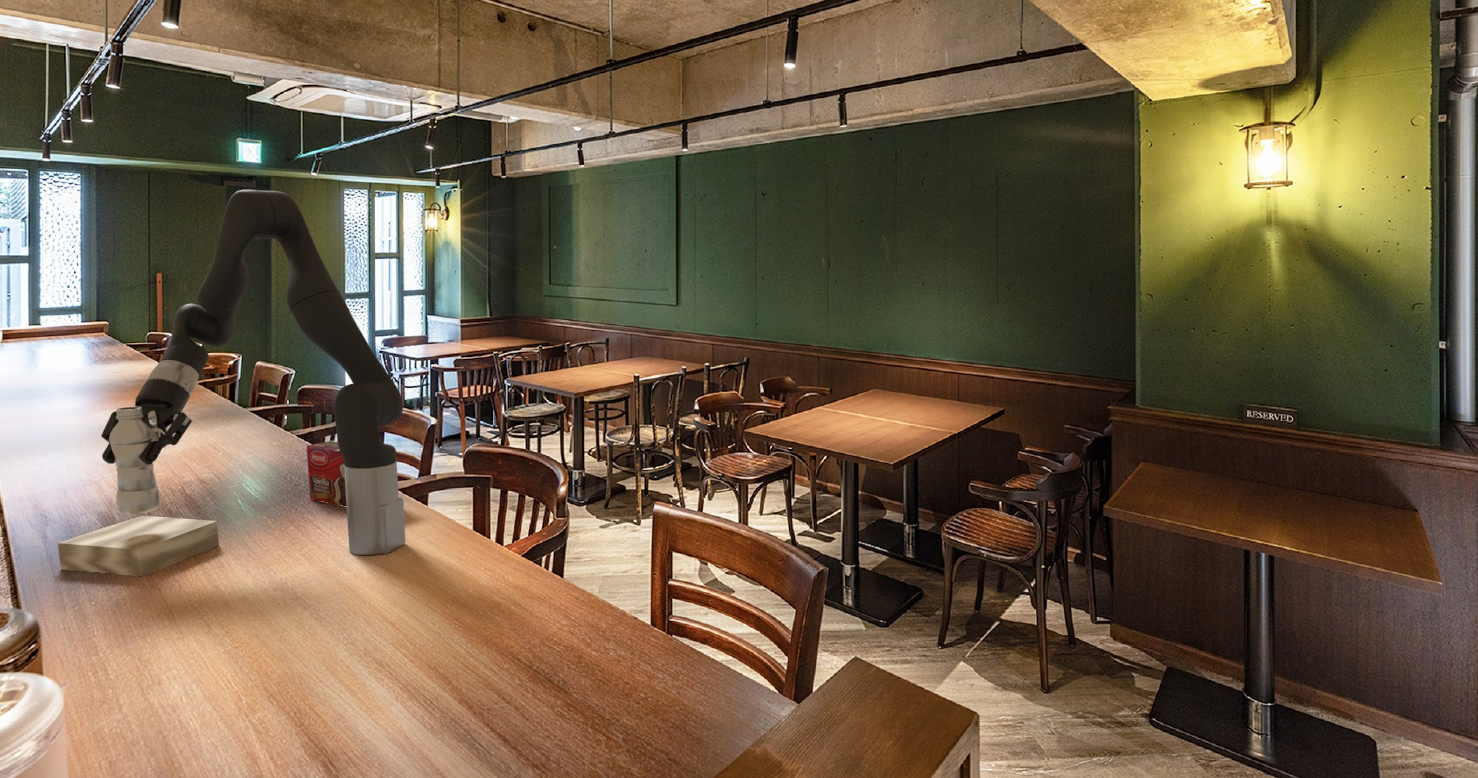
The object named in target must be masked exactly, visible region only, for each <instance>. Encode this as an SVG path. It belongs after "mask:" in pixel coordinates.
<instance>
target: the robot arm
mask: <svg viewBox="0 0 1478 778" xmlns="http://www.w3.org/2000/svg"><path fill="white" fill-rule="evenodd" d="M307 225H308V224H307V222H306V220H305V219H304V216H303V213H302V212H301V209H300V208H299V205H298V204H297V202H296V201H295V200H294V198H293V197H292V196H290V195H289V194H287V193H286V192H282V191H277V190H263V189H241V190H237V191H236V192H234V193H233V194H232V195H231V197H230V198H229V200H228V202H227V204H226V207H225V210H224V214H223V218H222V222H221V226H220V230H219V233H218V238H217V243H216V247H215V252H214V257H213V260H212V263H211V265H210V268H209V270H208V273H207V274H206V276H205V279H204V281H203V282H202V284H201V286H200V288H199V290H198V293H197V295H196V301H197V302H198V304H196V303H187V304H184V305H181V306H180V307H179V308H178V309H177V311H176V312H175V315H174V316H173V323H172V331H171V338H170V340H169V343H168V346H167V347H166V349H165V352H164V353H163V355H162V357H161V358H160V360H159V362H158V364H157V365H156V366H155V367H154V368H153V369H152V371H151V372H150V374H149V376H148V377H147V379H146V381H145V382H144V384H143V385H142V387H141V389H140V391H139V392H138V394H137V395H136V397H135V402H134V407H142V414H143V417H142V418H141V419H142V421H143V422H144V423H145V424H147V425H148V426H149V427H150V429H151V431H152V433H153V436H152V441H153V442H149V444H148V446H147V447H146V449H145V451H144V453H143V455H142V456H141V460H142V461H143V462H144V463H145V464H152V463H153V464H154V462H155V461H156V460H157V459H158V457H159V455H160V454H161V452H162V450H163V449H164V448H166V447H167V446H169V445H170V446H176V445H177V444H178V443H179V442H180V441H181V439H182V437H183V436H184V434H185V433H186V432H187V430H188V428H189V427H190V425H191V424H192V422H193V420H192V419H191V418H190V417H189V416H188V415H187V414H186V413H185V412H184V411H183V410H184V408H186V407H185V406H186V405H187V404H188V401H189V399H190V397H191V396H192V394H193V392H194V391H195V388H196V386H197V383H198V381H199V378H200V376H201V374H202V373H203V370H204V369H205V367H206V365H207V363H208V360H209V358H210V355H209V353H208V351H207V350H206V348H204V347H203V346H202V345H200V344H198V343H197V342H199V343H201V344H204V345H206V346H209V347H211V348H222V347H224V346H227V345H228V344H229V343H230V342H232V339H233V336H234V334H235V328H236V313H237V310H238V307H239V304H240V302H241V301H242V299H243V297H244V295H245V293H246V291H247V290H248V289H247V288H248V287H249V282H250V274H249V273H250V272H249V269H248V266H247V262H246V260H245V252H246V249H248V247H249V245H250V244H251V242H253V240H276V241H277V242H278V243H279V244H280V245H281V248H282V250H283V252H284V254H285V256H286V258H287V260H288V266H289V273H288V280H287V286H286V302H287V306H288V308H289V309H290V312H291V314H292V315H293V317H294V319H295V321H296V323H297V324H298V326H299V328H300V330H301V331H302V333H303V334H304V336H306V338H307V339H309V340H310V341H311V343H312V344H314V345H315V346H316V347H318V348H319V349H320V350H321V351H322V352H325V354H327V355H328V356H329V357H330V358H331V359H333V360H334V361H335V362H337V364H339V365H340V366H341V368H342V369H343V370H344V371H345V373H346V374H347V375H348V377H349V379H350V381H351V382H352V383H350V384H347V385H344V386H343V387H340V389H339V390H338V391H337V393H336V396H335V399H334V405H333V406H334V407H333V408H334V409H333V411H334V412H333V413H334V422H335V423H334V424H335V431H336V437H337V438H336V440H337V442H338V446H339V450H340V452H341V454H342V456H343V459H344V470H345V488H346V504H347V507H346V517H347V518H346V519H347V533H348V535H347V536H348V548H349V552H350V553H351V554H354V555H361V556H364V555H365V556H371V555H373V556H374V555H379V554H380V555H382V554H384V555H385V554H389V553H390V552H393V551H394V550H396V549H397V548H399V547H401V546H403V545H405V544H406V533H405V532H406V528H405V527H406V526H405V507H404V506H405V505H404V504H405V503H404V498H403V497H399V485H398V484H399V482H398V463H397V462H398V461H397V458H398V457H397V450H396V447H394V446H393V445H392V444H388V443H383V441H381V438H380V437H381V436H380V429H379V428H380V427H383V426H387V425H391V424H393V423H395V422H397V421H398V420H399V419H400V417H401V416H402V413H403V410H404V403H403V397H402V395H401V393H400V390H399V389H398V387H397V385H396V383H395V382H394V381H393V379H392V377H391V376H390V375H389V374H388V372H387V370H386V369H385V368H384V366H383V364H381V362H380V361H379V359H378V357H377V356H376V354H375V353H374V351H373V350H372V348H371V346H370V345H369V343H368V342H367V340H366V338H365V336H364V334H363V333H362V331H361V329H360V328H359V326H358V324H357V323H356V321H355V319H354V317H353V315H352V313H351V310H350V309H349V307H348V305H347V303H346V301H345V299H344V298H343V295H342V293H341V292H340V291H339V289H338V287H337V286H336V284H335V282H334V281H333V279H332V277H331V275H330V273H329V271H328V269H327V267H326V265H325V263H324V261H323V260H322V257H321V255H320V253H319V252H318V249H317V247H316V245H315V242H314V239H313V237H312V235H311V233H310V231H309V228H308V226H307ZM195 341H196V342H195ZM116 416H117V411H116V410H114V411H113V412H111V414H110V416H109V419H107V423H106V425H105V427H104V429H103V431H102V433H101V434H100V435H101V438H102V439H104V440H105V441H106V442H107V446H106V447H105V450H104V451H103V452H102V455H101V457H102V460H103V461H104V462H105V463H107V464H108V465H109V464H110V465H111V464H116V463H115V458H114V454H113V451H112V448H111V444H110V440H109V437H110V433H111V431H112V430H113V428H114V427H115V426H116V425H117V423H118V422H119V420H118V419H116ZM168 427H169V428H168Z"/></svg>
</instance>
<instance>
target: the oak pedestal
mask: <svg viewBox="0 0 1478 778" xmlns="http://www.w3.org/2000/svg"><path fill="white" fill-rule="evenodd" d="M218 530H219V529H218V522H217V520H209V519H205V520H204V519H193V518H192V519H191V518H179V517H169V516H168V517H165V516H152V515H140V516H137V517H133V518H131V519H127V520H124V521H121V522H118V523H115V524H112V525H109V526H106V527H103V528H99V529H97V530H94V531H90V532H87V533H84V534H81V535H78V536H75V537H72V538H70V539H67V540H62V541H60V542H57V550H58V557H59V563H60V564H59V566H60V570H62V571H63V570H64V571H73V572H83V571H90V572H89V573H94V572H100V573H99V574H105V573H108V574H107V575H117V574H118V575H120V576H128V575H135V576H134V577H139V576H142V578H143V577H145V576H144V575H146V576H148V575H151V574H152V572H153V573H155V572H158V571H160V570H163V569H165V568H167V567H169V566H172V565H175V564H177V563H179V562H181V561H185V560H187V559H189V558H191V557H194V556H196V555H199V554H202V553H204V552H206V551H208V550H211V549H214V548H216V547H219V546H220V543H219V532H218ZM162 568H163V569H162ZM154 571H155V572H154ZM109 573H110V574H109Z"/></svg>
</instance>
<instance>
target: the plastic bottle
mask: <svg viewBox="0 0 1478 778" xmlns="http://www.w3.org/2000/svg"><path fill="white" fill-rule="evenodd" d="M115 411H117V416H116V419H118V420H119V422H118V423H117V425H116V426H115V427H114V428H113V430H112V431H111V433H110V437H109V440H110V444H111V448H112V451H113V454H114V458H115V463H114V464H115V466H116V472H117V475H116V477H117V482H116V483H117V490H116V495H115V496H116V497H115V498H116V499H115V503H116V506H117V507H116V508H117V510H118V511H119V512H120V513H121V514H123V515H142V514H146V513H150V512H153V511H156V510H158V509H159V507H160V505H161V501H162V496H161V492H160V489H159V487H158V484H157V479H156V476H155V470H154V462H153V463H152V464H145V463H144V462H143V461H142V460H141V456H142V455H143V453H144V451H145V449H146V447H147V446H148V444H149V442H153V441H152V436H153V433H152V431H151V429H150V427H149V426H148V425H147V424H145V423H144V422H143V421H142V419H141V418H142V417H143V414H142V407H135V406H124V407H118V408H116V410H115Z"/></svg>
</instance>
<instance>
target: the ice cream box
mask: <svg viewBox="0 0 1478 778" xmlns="http://www.w3.org/2000/svg"><path fill="white" fill-rule="evenodd" d="M306 457H307V471H308V485H309V486H308V487H309V489H308V490H309V498H310V499H313V500H317V501H316V502H318V501H324V502H328V503H332V504H331V505H333V504H335V505H334V506H337V505H343V506H347V504H346V488H345V470H344V459H343V456H342V454H341V452H340V450H339V446H338V441H335V440H329V441H324V442H319V443H314V444H308V445H306ZM310 499H309V500H310ZM313 500H312V501H313ZM328 503H327V504H328Z"/></svg>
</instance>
